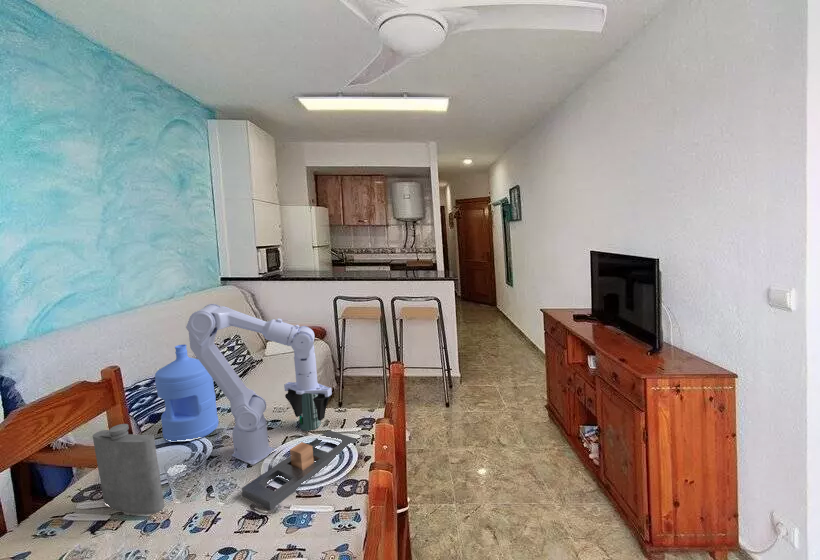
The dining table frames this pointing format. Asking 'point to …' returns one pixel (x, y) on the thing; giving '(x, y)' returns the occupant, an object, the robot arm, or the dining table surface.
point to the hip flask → (128, 470)
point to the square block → (302, 456)
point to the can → (309, 413)
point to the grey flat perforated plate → (292, 473)
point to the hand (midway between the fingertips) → (310, 417)
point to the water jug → (186, 398)
